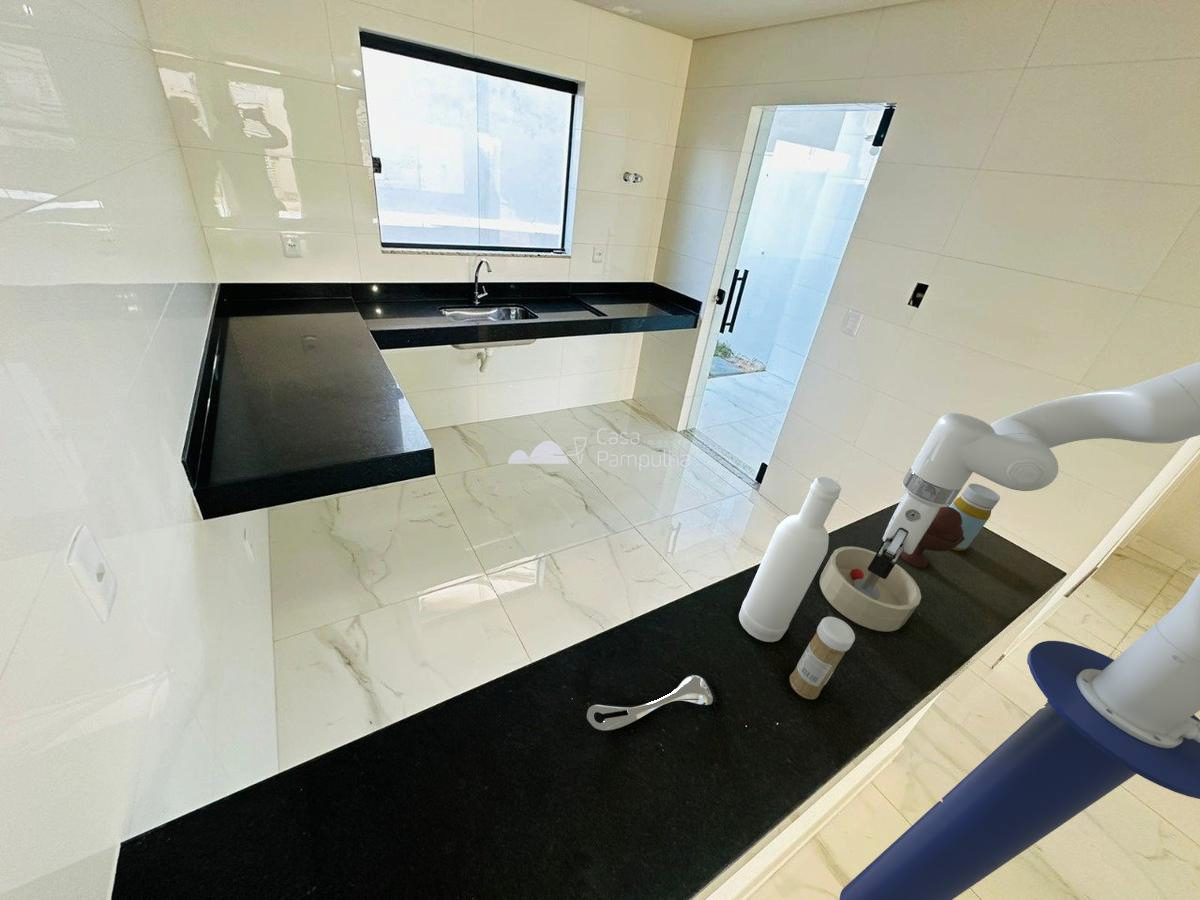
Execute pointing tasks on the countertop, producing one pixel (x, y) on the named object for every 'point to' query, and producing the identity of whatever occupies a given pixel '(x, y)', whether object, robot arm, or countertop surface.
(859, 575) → the bead
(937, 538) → the ice cream bowl
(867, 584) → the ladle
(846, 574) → the mixing bowl
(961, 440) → the robot arm
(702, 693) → the ice cream scoop
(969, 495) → the bottle
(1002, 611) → the countertop surface
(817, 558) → the bottle
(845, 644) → the sprinkles bottle
